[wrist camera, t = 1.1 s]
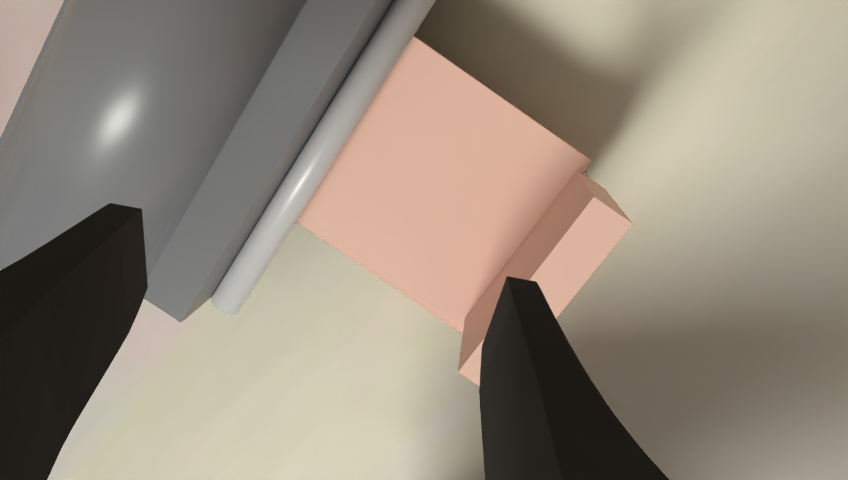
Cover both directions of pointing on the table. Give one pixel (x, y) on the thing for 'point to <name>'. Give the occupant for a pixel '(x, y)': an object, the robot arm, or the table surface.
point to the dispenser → (193, 128)
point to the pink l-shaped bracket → (462, 199)
